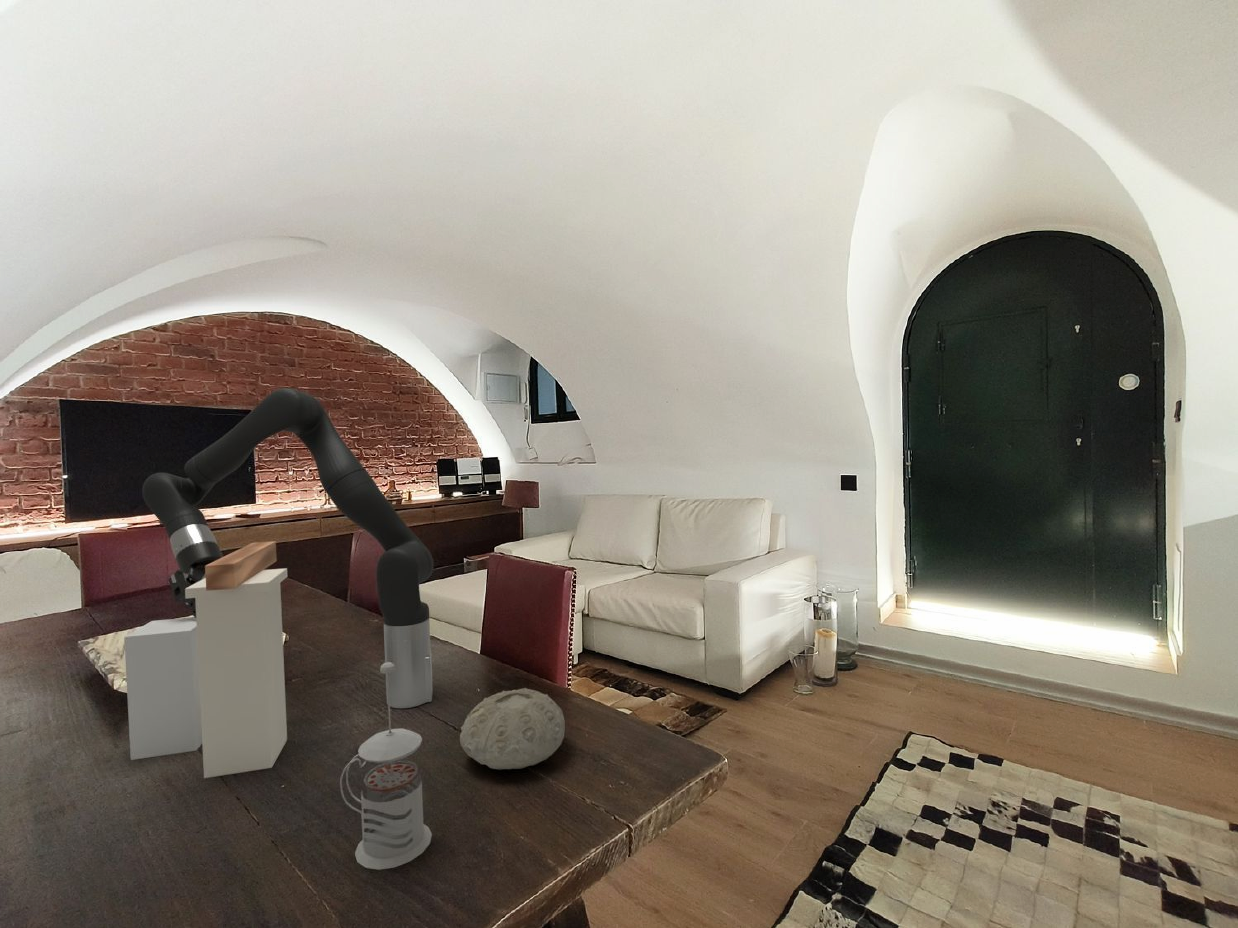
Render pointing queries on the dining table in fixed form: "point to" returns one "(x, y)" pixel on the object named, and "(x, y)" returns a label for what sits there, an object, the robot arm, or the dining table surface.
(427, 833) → the french press
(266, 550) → the terracotta bar
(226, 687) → the cream stand
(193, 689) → the grey block
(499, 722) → the decorative shell
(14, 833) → the dining table surface
